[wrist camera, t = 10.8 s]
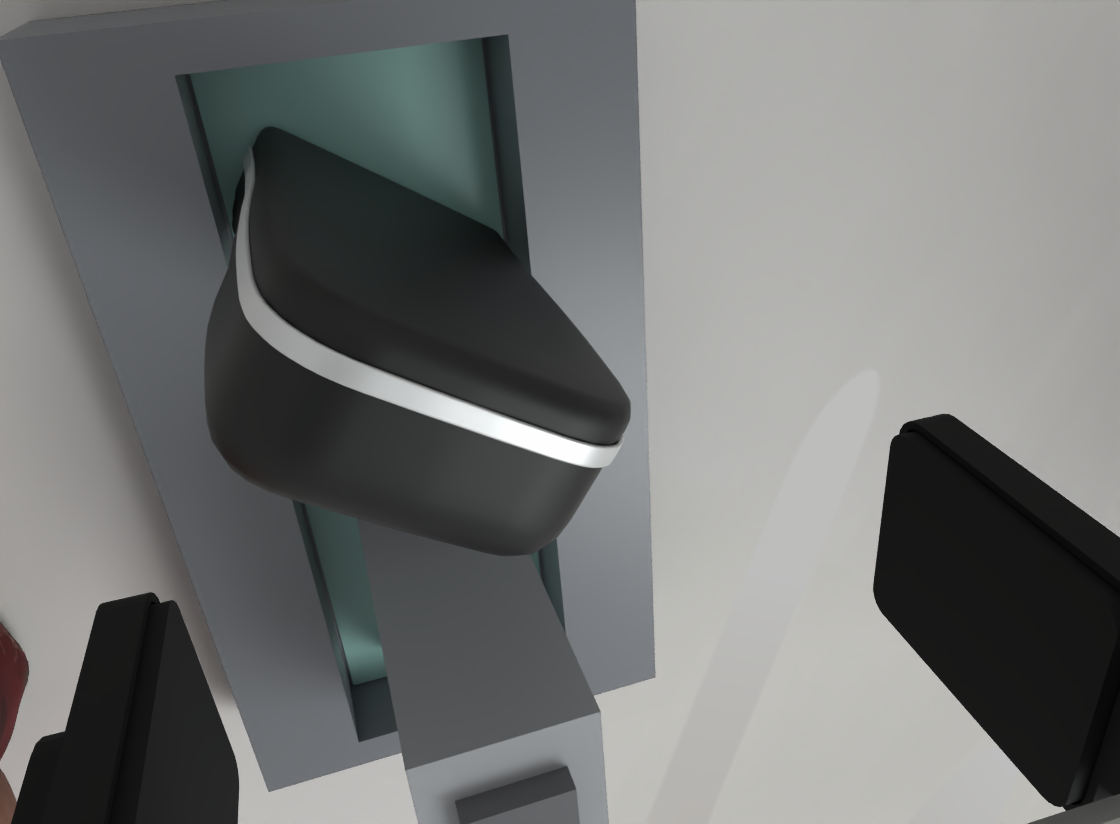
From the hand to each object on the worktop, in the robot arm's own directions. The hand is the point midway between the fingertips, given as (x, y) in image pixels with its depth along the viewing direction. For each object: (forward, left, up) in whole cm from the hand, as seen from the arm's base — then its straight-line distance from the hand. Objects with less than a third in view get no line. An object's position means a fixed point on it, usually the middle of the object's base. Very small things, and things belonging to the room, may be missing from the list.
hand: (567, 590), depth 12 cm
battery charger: (+1, 0, -15) cm, 15 cm away
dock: (+1, +5, -16) cm, 16 cm away
